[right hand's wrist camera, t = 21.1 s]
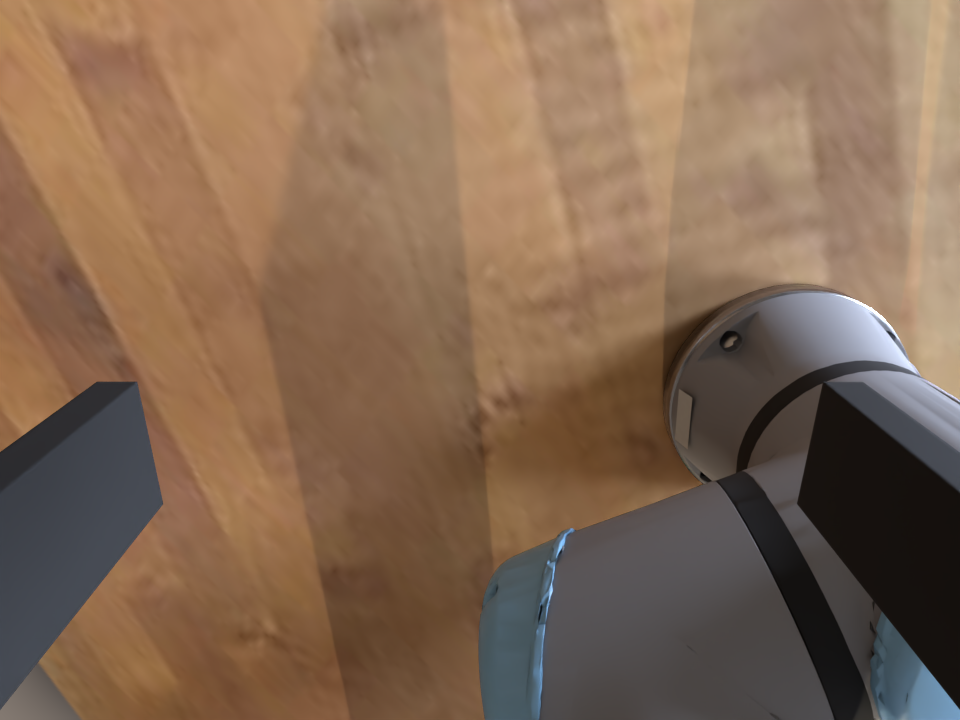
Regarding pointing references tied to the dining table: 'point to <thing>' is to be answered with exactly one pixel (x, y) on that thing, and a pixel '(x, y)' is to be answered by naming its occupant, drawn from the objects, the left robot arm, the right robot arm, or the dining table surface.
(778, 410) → the right robot arm
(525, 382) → the dining table surface
